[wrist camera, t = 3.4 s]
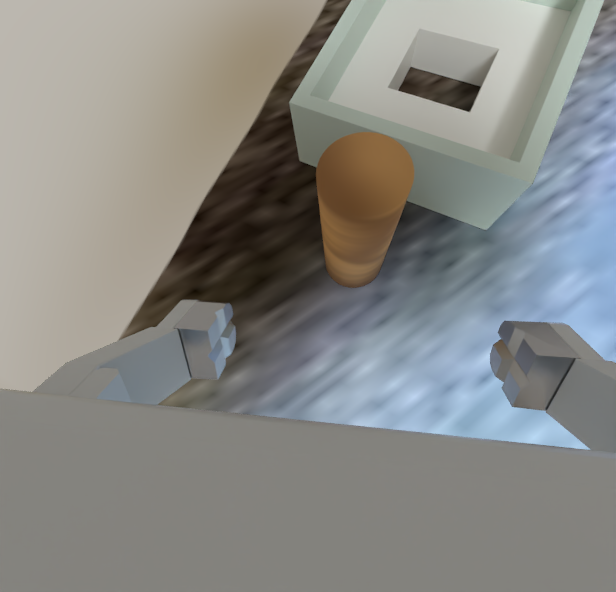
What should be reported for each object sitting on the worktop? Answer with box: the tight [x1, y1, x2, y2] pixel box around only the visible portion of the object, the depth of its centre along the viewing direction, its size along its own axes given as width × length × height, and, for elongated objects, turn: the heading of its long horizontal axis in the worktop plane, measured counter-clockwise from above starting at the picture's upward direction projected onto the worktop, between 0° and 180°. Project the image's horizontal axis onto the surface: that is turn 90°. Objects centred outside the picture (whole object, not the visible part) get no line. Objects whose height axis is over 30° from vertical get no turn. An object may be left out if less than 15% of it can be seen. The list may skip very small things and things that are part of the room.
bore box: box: [289, 0, 604, 230], centre depth 23 cm, size 18×15×6 cm
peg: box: [316, 132, 414, 288], centre depth 18 cm, size 4×4×10 cm
